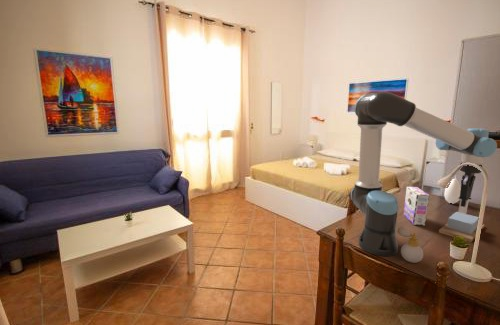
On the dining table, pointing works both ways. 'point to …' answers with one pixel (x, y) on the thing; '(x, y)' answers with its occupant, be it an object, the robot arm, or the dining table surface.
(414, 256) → the perfume bottle
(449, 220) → the slate block
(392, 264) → the dining table surface
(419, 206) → the candy box
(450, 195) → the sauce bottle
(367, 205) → the robot arm
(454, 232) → the striped wooden board
